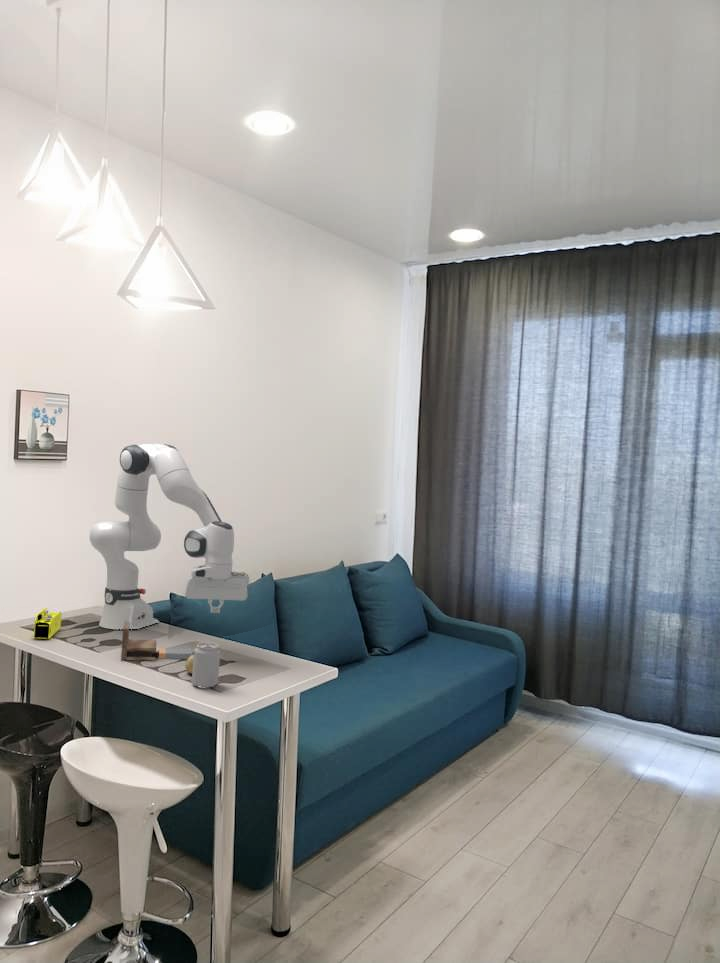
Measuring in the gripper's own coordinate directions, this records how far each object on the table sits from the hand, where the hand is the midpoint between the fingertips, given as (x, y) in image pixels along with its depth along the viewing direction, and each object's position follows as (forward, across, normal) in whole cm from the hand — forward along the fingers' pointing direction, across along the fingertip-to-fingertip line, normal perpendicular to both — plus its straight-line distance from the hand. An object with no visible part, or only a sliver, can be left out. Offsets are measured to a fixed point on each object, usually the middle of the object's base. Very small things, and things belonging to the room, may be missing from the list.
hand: (215, 612), depth 248 cm
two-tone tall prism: (+15, +11, 0) cm, 19 cm away
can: (+15, +4, +30) cm, 34 cm away
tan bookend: (+15, +23, 0) cm, 27 cm away
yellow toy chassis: (+15, +55, -25) cm, 62 cm away
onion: (+15, +5, +19) cm, 25 cm away
